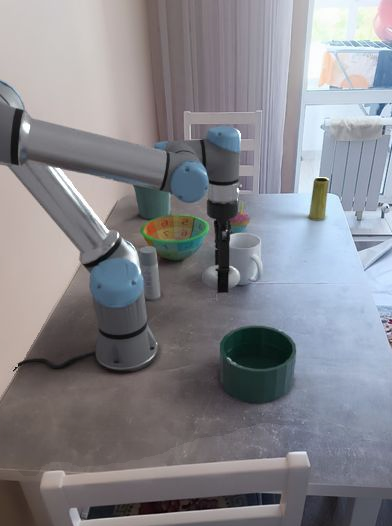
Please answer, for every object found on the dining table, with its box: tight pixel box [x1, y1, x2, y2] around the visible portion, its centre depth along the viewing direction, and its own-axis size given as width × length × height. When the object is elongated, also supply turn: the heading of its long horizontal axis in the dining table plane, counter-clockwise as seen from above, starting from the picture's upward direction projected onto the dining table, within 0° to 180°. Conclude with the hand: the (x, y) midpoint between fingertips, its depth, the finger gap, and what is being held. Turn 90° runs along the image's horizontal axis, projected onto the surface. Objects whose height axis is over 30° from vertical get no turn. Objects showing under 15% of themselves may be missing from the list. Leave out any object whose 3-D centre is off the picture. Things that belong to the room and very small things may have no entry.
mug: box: [229, 232, 264, 286], centre depth 142 cm, size 15×11×13 cm
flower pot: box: [132, 185, 171, 220], centre depth 187 cm, size 16×16×16 cm
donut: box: [202, 264, 240, 290], centre depth 126 cm, size 10×4×10 cm
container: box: [139, 245, 162, 302], centre depth 137 cm, size 5×5×15 cm
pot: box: [219, 325, 297, 404], centre depth 109 cm, size 17×17×9 cm
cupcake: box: [229, 199, 251, 234], centre depth 173 cm, size 9×8×12 cm
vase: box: [308, 177, 330, 221], centre depth 180 cm, size 6×6×14 cm
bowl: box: [140, 214, 210, 261], centre depth 159 cm, size 22×22×10 cm
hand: (221, 281), depth 127 cm, fingers closed on donut, 10 cm apart
